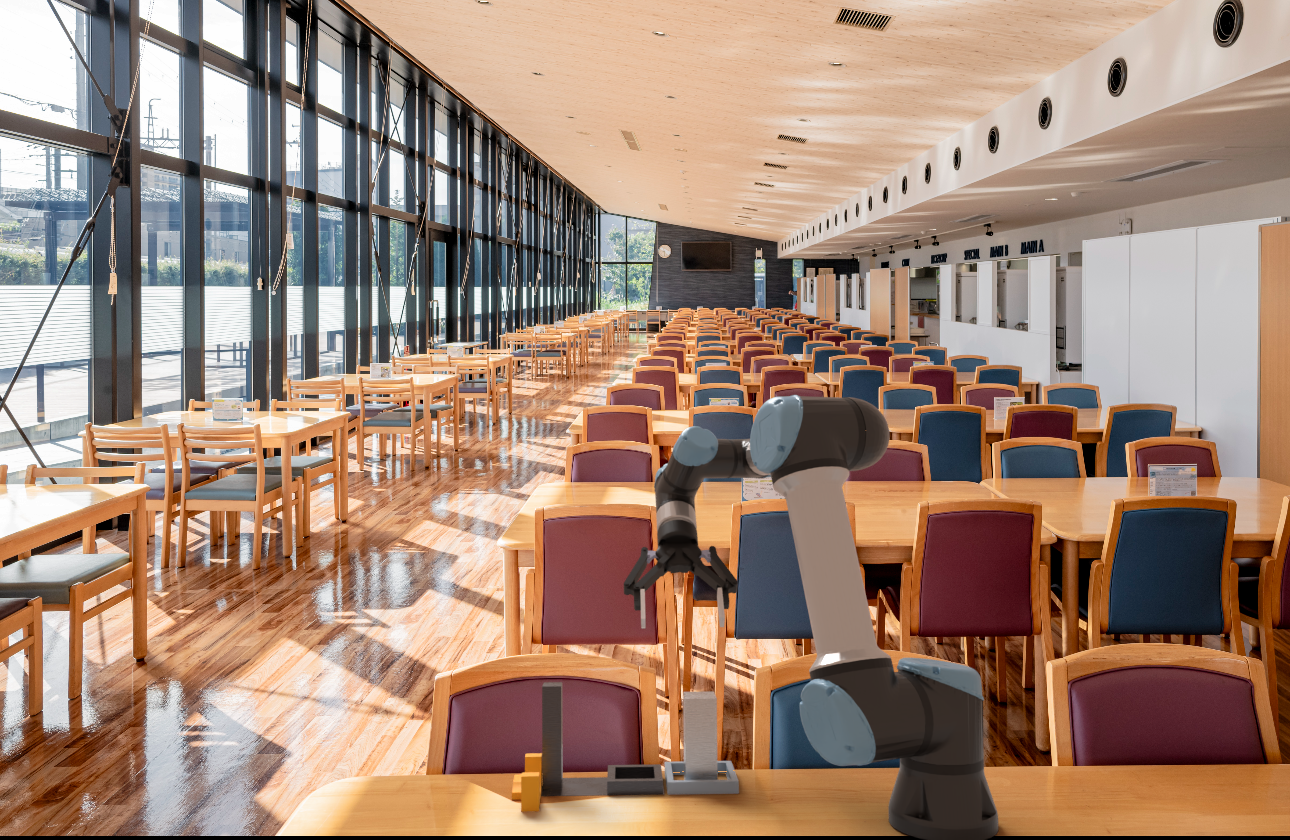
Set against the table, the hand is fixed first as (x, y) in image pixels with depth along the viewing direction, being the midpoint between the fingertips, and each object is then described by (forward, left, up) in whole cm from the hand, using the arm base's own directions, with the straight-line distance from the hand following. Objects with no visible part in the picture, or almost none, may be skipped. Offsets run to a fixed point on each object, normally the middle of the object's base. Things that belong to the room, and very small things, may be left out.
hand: (682, 623), depth 174 cm
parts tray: (-2, +11, -25) cm, 27 cm away
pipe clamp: (+25, +18, -25) cm, 40 cm away
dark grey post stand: (+14, +12, -25) cm, 31 cm away
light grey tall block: (-2, +11, -24) cm, 26 cm away
